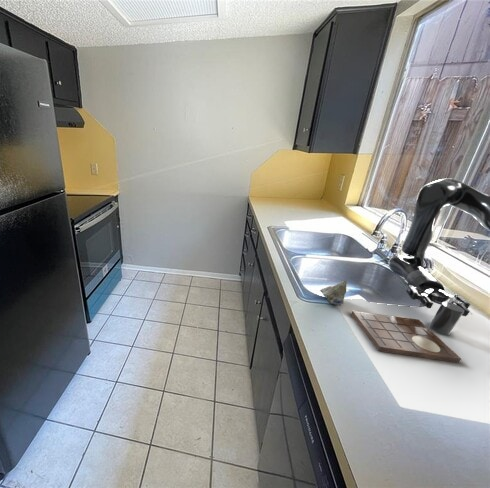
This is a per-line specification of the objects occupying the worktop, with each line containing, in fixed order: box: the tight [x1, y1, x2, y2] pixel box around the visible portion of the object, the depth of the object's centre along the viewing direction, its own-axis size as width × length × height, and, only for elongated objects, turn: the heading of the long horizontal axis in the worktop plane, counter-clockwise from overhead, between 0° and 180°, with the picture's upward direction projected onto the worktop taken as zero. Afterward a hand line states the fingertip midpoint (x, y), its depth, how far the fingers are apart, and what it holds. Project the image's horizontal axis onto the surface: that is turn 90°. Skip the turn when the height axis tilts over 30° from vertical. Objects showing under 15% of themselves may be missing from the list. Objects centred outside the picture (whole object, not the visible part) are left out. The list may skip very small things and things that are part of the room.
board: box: [350, 310, 462, 364], centre depth 78 cm, size 20×16×2 cm
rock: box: [319, 279, 348, 305], centre depth 92 cm, size 11×6×10 cm
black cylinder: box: [428, 301, 464, 336], centre depth 80 cm, size 5×5×9 cm
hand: (447, 309), depth 80 cm, fingers open, 8 cm apart
